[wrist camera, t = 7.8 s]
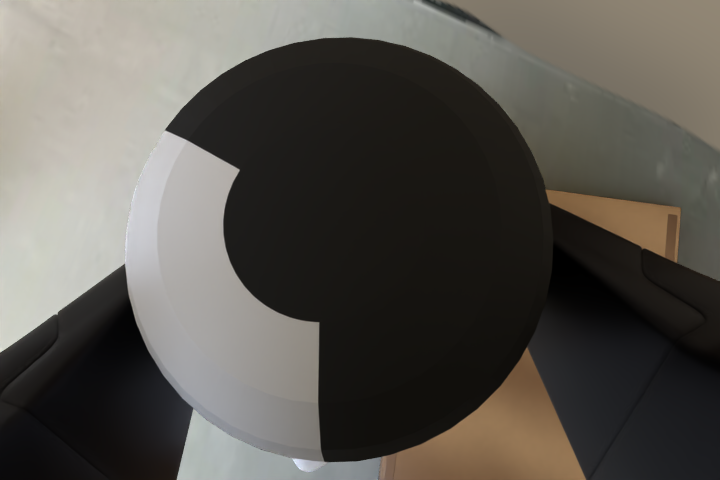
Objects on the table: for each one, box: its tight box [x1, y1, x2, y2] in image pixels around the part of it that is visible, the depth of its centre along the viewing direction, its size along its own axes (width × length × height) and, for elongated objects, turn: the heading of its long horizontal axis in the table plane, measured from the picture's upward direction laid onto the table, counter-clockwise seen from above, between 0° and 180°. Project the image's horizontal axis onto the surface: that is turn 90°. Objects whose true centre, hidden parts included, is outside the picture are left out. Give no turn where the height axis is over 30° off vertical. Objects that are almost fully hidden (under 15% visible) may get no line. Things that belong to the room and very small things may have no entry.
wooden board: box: [378, 189, 681, 480], centre depth 20 cm, size 20×13×1 cm, turn 172°
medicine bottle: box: [125, 37, 553, 472], centre depth 11 cm, size 7×7×12 cm
